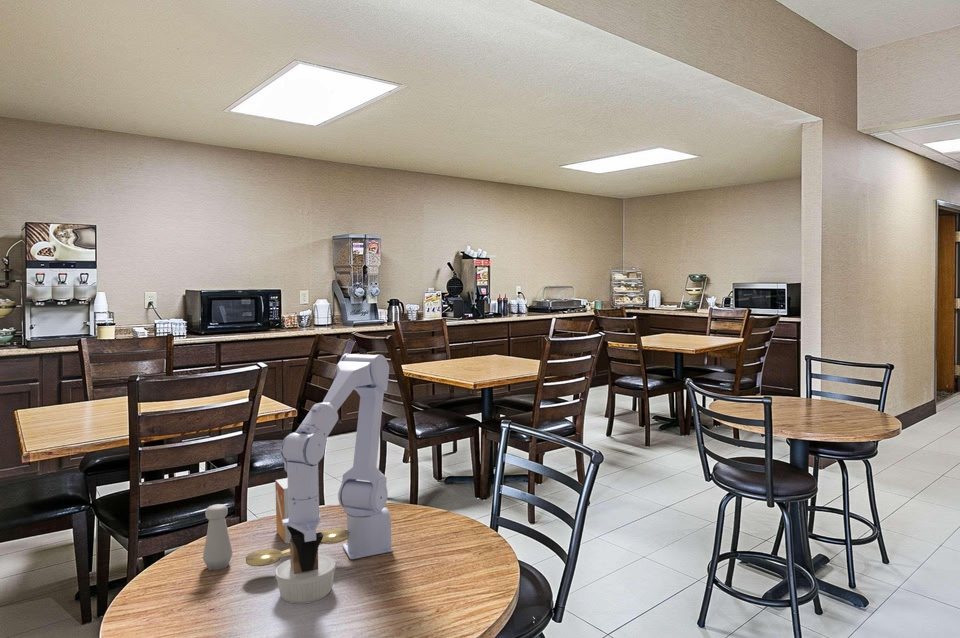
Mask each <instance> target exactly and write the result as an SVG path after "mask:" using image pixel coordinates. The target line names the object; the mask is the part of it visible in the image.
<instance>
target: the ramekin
mask: <svg viewBox="0 0 960 638" xmlns="http://www.w3.org/2000/svg"><path fill="white" fill-rule="evenodd" d="M336 569H337V564H336V561H335V559H334V558H332V557H330V556H328V555H323V554H322V555H321V554H318V569H317V570H312V571H307V572H302V573H297V574H294V573H293V570H292V567H291V563H290V559H287V560H285V561H283V562H281V563H280V564H279V565H278V566H277V567H276V568H275V571H274V577H275V579H276V581H277V586H278V590H279V595H280V597H281V598H282V599H283V600H284V601H285V602H287V603H289V604H295V605H305V604H309V603H314V602H317V601H320V600H322V599H323V598H325V597H326V596H327V595H328V594H329V593H330V592H331V590H332V587H333V583H334V577H335V571H336Z"/></svg>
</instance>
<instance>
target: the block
mask: <svg viewBox="0 0 960 638" xmlns="http://www.w3.org/2000/svg"><path fill="white" fill-rule="evenodd" d="M289 549H290V554H289V557H290V563H291V567H292V570H293V573H294V574H297V573H302V570H301V567H300V562H299V557H298V552H297V549H296V546H295V544H294V543H293V541H292V539H290V543H289ZM318 555H319V549H318V550H317V554H316V559H315V564H314V568H313V570H317V569H318ZM309 571H312V570H309ZM304 572H307V571H304Z"/></svg>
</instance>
